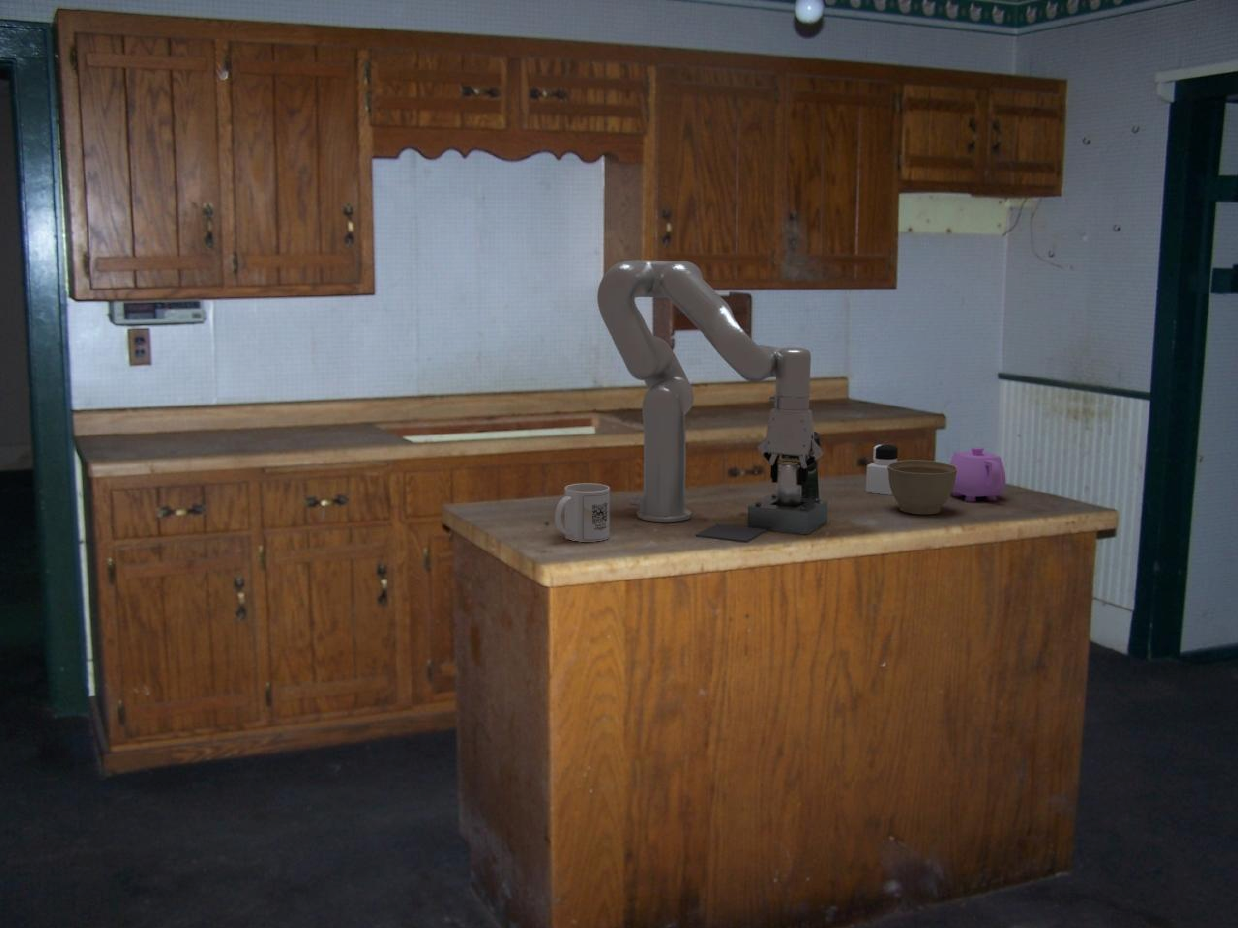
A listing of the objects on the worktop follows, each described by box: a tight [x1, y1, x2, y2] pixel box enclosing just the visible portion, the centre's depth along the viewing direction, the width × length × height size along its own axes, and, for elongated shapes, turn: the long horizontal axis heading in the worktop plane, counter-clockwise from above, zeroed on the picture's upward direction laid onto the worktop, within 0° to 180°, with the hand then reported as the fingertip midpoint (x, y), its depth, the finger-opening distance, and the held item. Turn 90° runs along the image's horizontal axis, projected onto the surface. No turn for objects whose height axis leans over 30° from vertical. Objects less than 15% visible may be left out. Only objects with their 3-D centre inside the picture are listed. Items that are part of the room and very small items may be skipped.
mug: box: [554, 482, 611, 543], centre depth 276 cm, size 10×12×11 cm
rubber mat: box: [695, 523, 768, 543], centre depth 282 cm, size 12×12×1 cm
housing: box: [746, 493, 829, 535], centre depth 290 cm, size 14×14×6 cm
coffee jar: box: [780, 431, 821, 499], centre depth 308 cm, size 10×8×19 cm
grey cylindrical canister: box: [775, 458, 801, 507], centre depth 289 cm, size 6×6×12 cm
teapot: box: [949, 446, 1006, 502], centre depth 322 cm, size 20×12×13 cm, turn 15°
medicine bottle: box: [865, 443, 899, 496], centre depth 328 cm, size 7×7×12 cm
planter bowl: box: [887, 459, 957, 516], centre depth 305 cm, size 16×16×11 cm
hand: (788, 482), depth 289 cm, fingers closed on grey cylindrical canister, 5 cm apart
